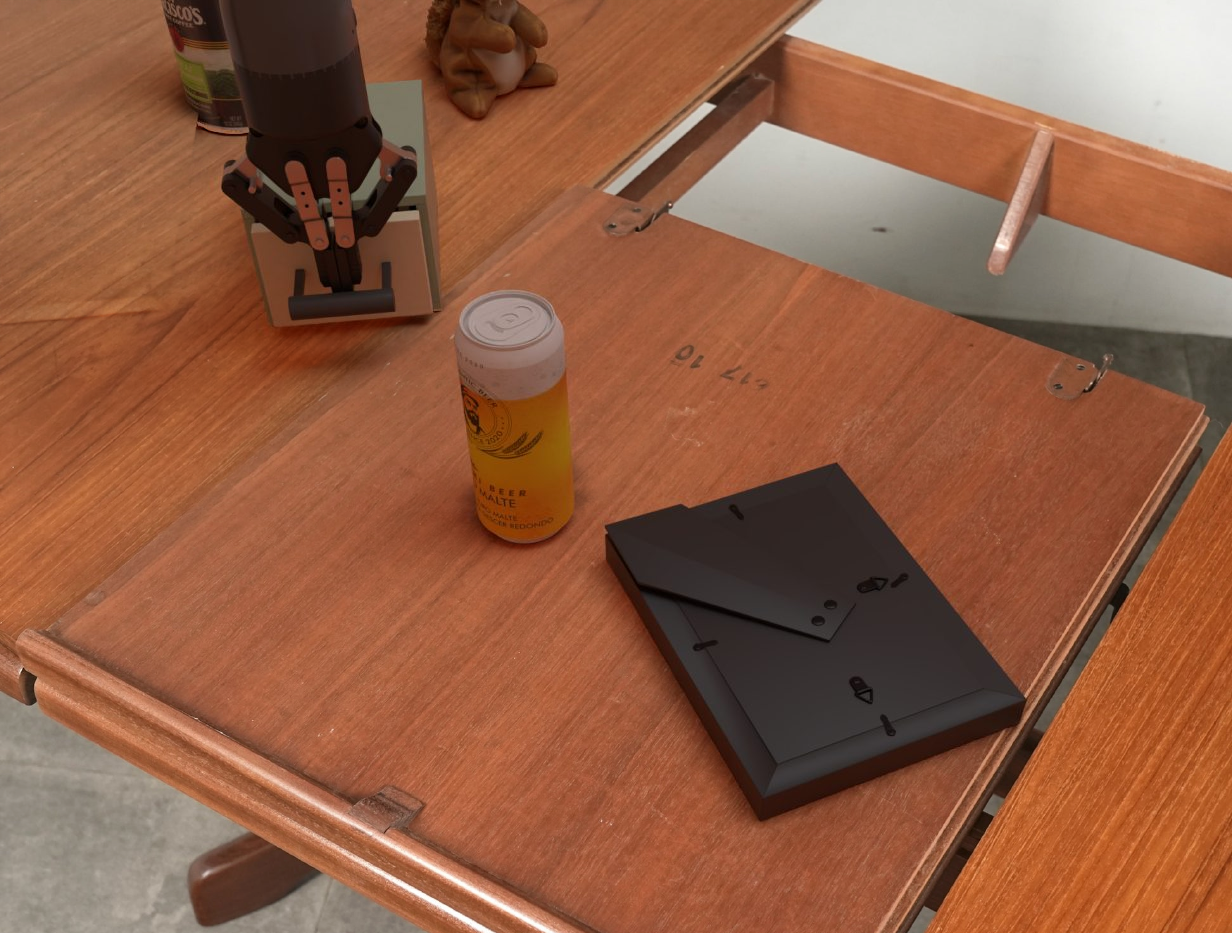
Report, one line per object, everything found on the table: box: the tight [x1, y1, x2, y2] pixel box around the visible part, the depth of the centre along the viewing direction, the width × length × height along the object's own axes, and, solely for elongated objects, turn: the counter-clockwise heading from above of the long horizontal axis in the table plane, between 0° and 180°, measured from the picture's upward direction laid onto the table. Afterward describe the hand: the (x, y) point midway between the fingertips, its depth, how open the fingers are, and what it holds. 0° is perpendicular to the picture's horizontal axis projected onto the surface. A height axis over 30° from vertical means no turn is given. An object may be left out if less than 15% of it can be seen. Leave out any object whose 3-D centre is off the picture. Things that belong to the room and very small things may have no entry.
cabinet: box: [239, 79, 443, 327], centre depth 103 cm, size 17×13×10 cm
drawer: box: [251, 205, 434, 328], centre depth 99 cm, size 20×11×8 cm, turn 6°
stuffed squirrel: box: [422, 0, 559, 119], centre depth 120 cm, size 10×14×13 cm
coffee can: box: [160, 0, 249, 132], centre depth 117 cm, size 10×10×14 cm
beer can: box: [453, 289, 575, 544], centre depth 81 cm, size 6×6×15 cm
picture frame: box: [604, 461, 1028, 822], centre depth 78 cm, size 16×3×21 cm
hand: (344, 287), depth 94 cm, fingers closed
